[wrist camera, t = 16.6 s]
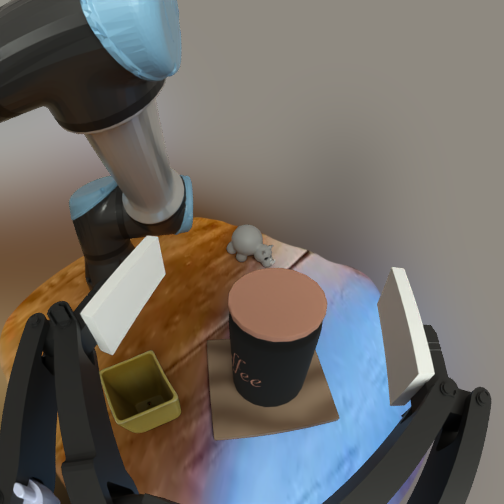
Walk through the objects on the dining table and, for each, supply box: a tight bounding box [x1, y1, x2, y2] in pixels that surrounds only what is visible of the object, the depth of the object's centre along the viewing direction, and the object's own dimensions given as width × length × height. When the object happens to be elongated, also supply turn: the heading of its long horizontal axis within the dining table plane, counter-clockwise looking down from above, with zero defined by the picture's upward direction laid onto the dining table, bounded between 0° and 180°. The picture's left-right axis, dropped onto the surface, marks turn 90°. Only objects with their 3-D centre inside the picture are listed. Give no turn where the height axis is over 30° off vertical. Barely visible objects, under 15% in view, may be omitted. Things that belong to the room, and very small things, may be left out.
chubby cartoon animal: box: [227, 225, 275, 267], centre depth 64 cm, size 7×12×8 cm, turn 53°
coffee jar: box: [228, 268, 327, 407], centre depth 34 cm, size 11×11×18 cm
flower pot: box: [99, 350, 181, 433], centre depth 31 cm, size 9×9×9 cm
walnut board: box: [207, 339, 339, 440], centre depth 39 cm, size 18×18×1 cm
